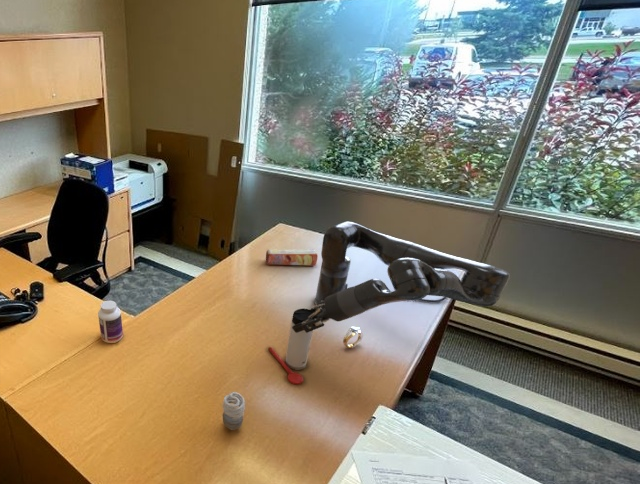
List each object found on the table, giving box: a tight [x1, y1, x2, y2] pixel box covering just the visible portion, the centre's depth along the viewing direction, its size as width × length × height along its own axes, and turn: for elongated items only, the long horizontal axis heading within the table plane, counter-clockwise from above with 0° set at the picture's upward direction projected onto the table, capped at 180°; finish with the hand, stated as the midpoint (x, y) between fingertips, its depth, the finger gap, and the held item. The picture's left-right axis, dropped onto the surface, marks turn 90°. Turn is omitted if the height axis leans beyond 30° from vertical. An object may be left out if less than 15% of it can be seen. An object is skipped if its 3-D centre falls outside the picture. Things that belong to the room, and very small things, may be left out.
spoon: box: [268, 346, 304, 386], centre depth 132 cm, size 17×4×1 cm, turn 14°
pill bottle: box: [97, 300, 124, 344], centre depth 147 cm, size 8×8×14 cm
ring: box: [342, 326, 364, 349], centre depth 136 cm, size 7×3×8 cm, turn 104°
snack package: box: [265, 249, 319, 267], centre depth 187 cm, size 21×7×7 cm, turn 79°
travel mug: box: [284, 308, 314, 371], centre depth 128 cm, size 6×7×20 cm
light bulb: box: [222, 391, 246, 431], centre depth 110 cm, size 6×6×12 cm
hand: (299, 322), depth 126 cm, fingers open, 8 cm apart
